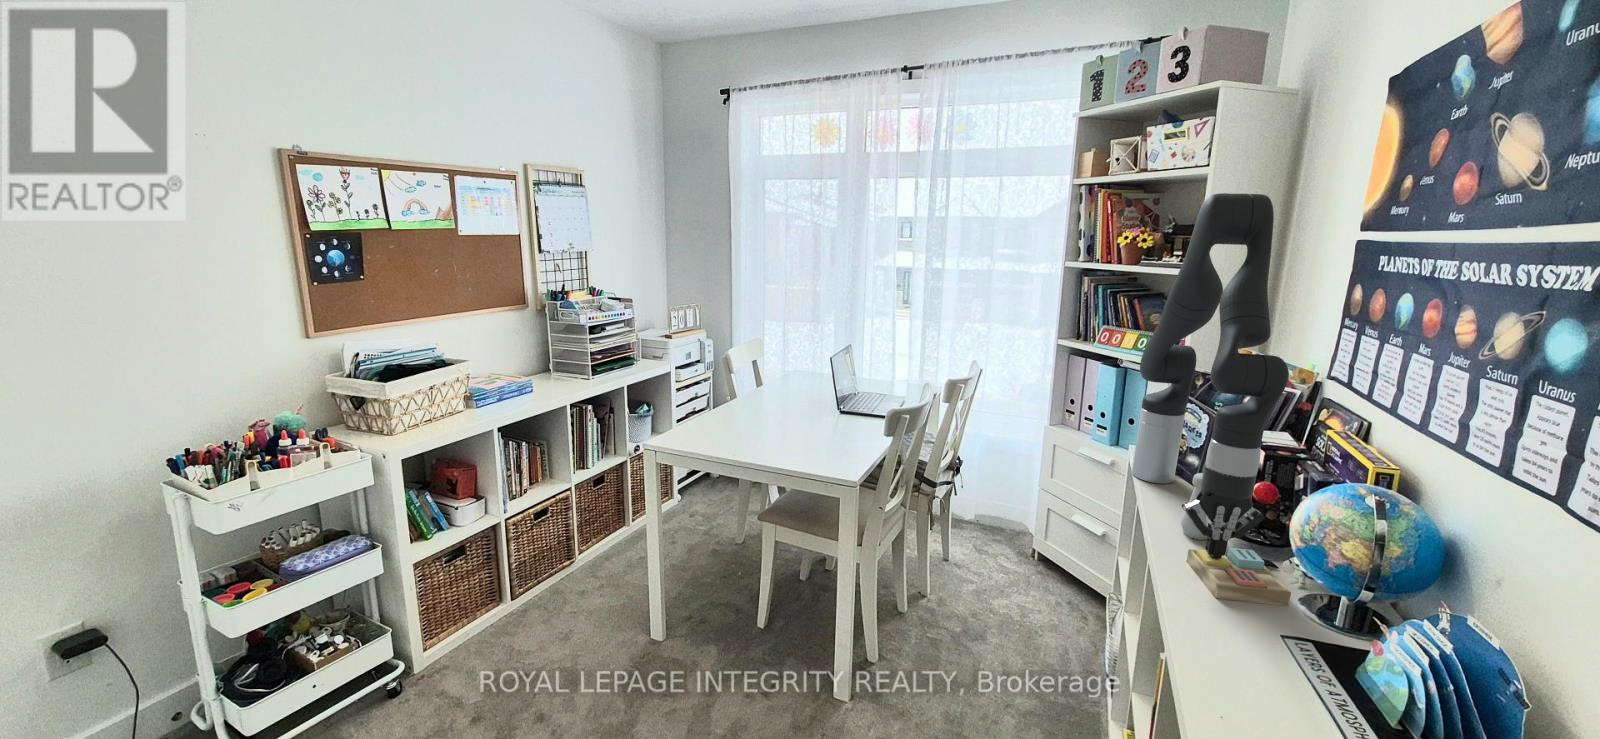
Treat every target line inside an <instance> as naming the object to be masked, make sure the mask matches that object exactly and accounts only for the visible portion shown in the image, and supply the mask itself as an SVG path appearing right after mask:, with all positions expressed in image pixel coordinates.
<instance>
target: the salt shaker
mask: <svg viewBox="0 0 1600 739" xmlns="http://www.w3.org/2000/svg"><path fill="white" fill-rule="evenodd" d="M1203 473H1204V472H1198V473H1196V474H1195V473H1194V475H1193V478H1192V485H1193V486H1194V488H1193V491H1192V493H1191V495H1190V498H1189V501H1188V502H1187V503H1188V504H1190V503H1192V502H1194V501H1196V500H1197V495H1198V494H1199V493H1200V491H1201V484H1202V478H1203ZM1198 516H1199V517H1200V519H1201V520H1202V522H1203V523H1204V525H1205V526H1207V521H1206V514H1205V513H1204V511H1203V510H1202V508H1201V507H1200V515H1198ZM1180 525H1181V528H1182V532H1183V534H1184V535H1186V536H1187V537H1188V538H1191V539H1193V538H1194V539H1193V540H1197V539H1198V541H1203V540H1204V539H1206V538H1207V536H1204V535H1203V534H1202V533H1201V532H1200V531H1199V530H1198V529H1197V528H1196V526H1195V525H1194V523H1193V522H1192V521H1191V519H1190V518H1189V516H1188V515H1187V513H1186V512H1185V511H1184V513H1183V515H1182V518H1181V521H1180ZM1204 541H1205V540H1204Z"/></svg>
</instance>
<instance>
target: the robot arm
mask: <svg viewBox="0 0 1600 739" xmlns="http://www.w3.org/2000/svg"><path fill="white" fill-rule="evenodd" d="M1274 217H1275V214H1274V205H1273V202H1272V200H1271V198H1270V197H1269V196H1268V195H1267V194H1260V193H1227V192H1225V193H1213V194H1210V195H1209V196H1207V198H1206V199H1205V200H1204V201H1203V203H1202V205H1201V207H1200V209H1199V212H1198V215H1197V217H1196V221H1195V224H1194V228H1193V231H1192V234H1191V238H1190V240H1189V245H1188V247H1187V249H1186V250H1187V251H1186V254H1185V256H1184V259H1183V261H1182V265H1181V267H1180V269H1179V271H1178V274H1177V276H1176V278H1175V280H1174V282H1173V284H1172V287H1171V290H1170V291H1169V294H1168V297H1167V298H1166V302H1165V305H1164V307H1163V308H1164V309H1163V311H1162V313H1161V316H1160V318H1159V321H1158V324H1157V326H1156V328H1155V330H1154V332H1153V333H1152V336H1150V339H1149V340H1148V342H1147V344H1146V345H1145V348H1144V350H1143V353H1142V355H1141V359H1140V362H1139V363H1140V364H1139V371H1140V372H1139V373H1140V375H1141V378H1143V379H1144V380H1146V381H1148V382H1151V383H1161V384H1170V385H1169V386H1168V387H1166V388H1165V389H1162V390H1160V391H1155V392H1153V393H1147V394H1145V395H1144V396H1143V398H1142V401H1141V409H1140V417H1139V422H1138V427H1137V429H1138V430H1137V435H1136V441H1135V442H1136V443H1135V448H1134V455H1133V462H1132V469H1131V474H1132V475H1133V476H1134V477H1136V478H1137V479H1139V480H1142V481H1145V482H1149V483H1155V484H1161V485H1163V484H1171V483H1173V482H1174V481H1175V476H1176V469H1177V465H1178V464H1177V463H1178V459H1179V453H1180V447H1181V442H1182V435H1183V429H1184V423H1185V417H1186V411H1187V406H1188V403H1189V399H1190V395H1191V394H1190V393H1191V390H1192V385H1193V381H1194V377H1195V372H1196V369H1197V353H1196V350H1195V348H1194V347H1192V346H1191V345H1190V346H1189V345H1183V344H1177V342H1180V341H1181V340H1182V339H1184V338H1187V337H1188V336H1190V335H1193V334H1194V333H1195V332H1197V331H1198V330H1200V329H1201V328H1203V327H1204V326H1205V325H1207V324H1208V323H1209V322H1210V321H1211V320H1212V318H1213V317H1214V315H1215V313H1216V311H1217V309H1218V311H1219V326H1220V329H1219V330H1220V335H1219V341H1218V347H1217V351H1216V355H1215V358H1214V360H1213V363H1212V366H1211V369H1210V376H1209V378H1210V382H1211V384H1212V386H1213V387H1214V389H1215V390H1216V391H1217V392H1218V393H1222V394H1224V395H1234V396H1248V397H1249V396H1250V398H1249V399H1247V401H1245V402H1243V403H1240V404H1234V405H1225V406H1222V407H1220V408H1218V409H1217V411H1216V414H1215V417H1214V422H1213V428H1212V433H1211V438H1210V442H1209V445H1208V448H1207V451H1206V452H1207V453H1206V458H1205V464H1204V469H1203V472H1202V473H1203V478H1202V484H1201V491H1200V493H1199V494H1198V495H1197V500H1196V501H1194V502H1192V503H1190V504H1188V503H1189V502H1183V503H1182V504H1181V508H1182V509H1183V510H1184V513H1185V512H1186V513H1187V515H1188V516H1189V518H1190V519H1191V521H1192V522H1193V523H1194V525H1195V526H1196V528H1197V529H1198V530H1199V531H1200V532H1201V533H1202V534H1203V535H1204V536H1207V538H1206V540H1205V545H1204V550H1206V552H1207V553H1208V554H1209V556H1210V557H1211V558H1218V559H1221V558H1222V556H1224V555H1225V554H1226V553H1227V549H1228V548H1227V547H1228V544H1229V543H1228V542H1229V541H1230V540H1231V539H1241V538H1242V537H1243V536H1245V535H1246V534H1247V533H1248V532H1250V531H1251V530H1253V529H1254V528H1255V527H1256V526H1257V525H1259V524H1260V523H1262V521H1263V520H1265V518H1266V517H1265V515H1264V514H1262V513H1261V512H1260V511H1259V510H1258V509H1257V508H1255V507H1253V506H1254V504H1253V501H1252V497H1253V495H1254V490H1255V485H1256V480H1257V476H1258V470H1259V468H1260V460H1261V446H1262V441H1263V435H1264V431H1265V427H1266V424H1267V421H1268V419H1269V418H1270V415H1271V413H1272V411H1273V410H1274V408H1275V406H1276V404H1277V402H1278V401H1279V399H1280V397H1281V396H1282V395H1283V393H1284V391H1285V389H1286V388H1287V385H1288V382H1289V377H1290V372H1289V367H1288V365H1287V363H1286V362H1285V360H1284V359H1282V358H1281V357H1280V356H1277V355H1270V354H1260V353H1259V354H1258V353H1240V352H1239V350H1241V349H1242V350H1243V349H1249V348H1254V347H1259V346H1261V345H1264V344H1265V343H1266V342H1268V341H1269V339H1270V337H1271V320H1270V308H1269V307H1270V306H1269V297H1268V295H1269V294H1268V291H1269V288H1268V287H1269V274H1270V266H1271V258H1272V257H1271V256H1272V245H1273V244H1272V243H1273V236H1274V235H1273V234H1274V221H1275V218H1274ZM1215 245H1236V246H1237V245H1238V246H1239V245H1241V246H1246V250H1247V251H1246V252H1247V253H1246V257H1245V260H1244V262H1243V263H1242V265H1241V267H1240V268H1239V269H1238V270H1237V272H1236V273H1235V274H1234V276H1232V278H1231V279H1230V280H1229V282H1228V283H1227V285H1226V286H1225V288H1224V287H1223V286H1224V285H1223V283H1222V281H1221V280H1222V279H1221V278H1220V275H1219V273H1218V271H1217V270H1216V268H1215V265H1214V264H1213V261H1212V257H1211V254H1210V252H1211V250H1212V247H1214V246H1215ZM1200 507H1201V508H1202V510H1203V511H1204V513H1205V514H1206V521H1207V526H1205V525H1204V523H1203V522H1202V520H1201V519H1200V517H1199V516H1198V515H1200Z"/></svg>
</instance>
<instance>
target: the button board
mask: <svg viewBox="0 0 1600 739" xmlns="http://www.w3.org/2000/svg"><path fill="white" fill-rule="evenodd" d="M1196 550H1197V549H1190V548H1189V549H1188V550H1187V551H1188V552H1187V557H1186V563H1187V564H1188V565H1189V566H1190V568H1191V569H1192V570H1193V572H1194V573H1195V572H1196V573H1195V575H1197V576H1199V577H1200V578H1199V577H1198V578H1199V579H1200V580H1201V581H1203V582H1204V583H1203V582H1202V583H1203V584H1204V586H1206V588H1207V589H1208V590H1209V591H1210V592H1209V593H1211V595H1212V596H1213V597H1214V598H1215V599H1218V600H1228V601H1236V602H1247V603H1256V604H1257V603H1258V604H1267V605H1274V606H1275V605H1276V606H1285V607H1288V606H1289V604H1290V600H1291V597H1292V596H1291V595H1292V592H1291V591H1290V590H1289V589H1288V587H1286V586H1285V584H1283V583H1282V581H1280V580H1279V578H1278V577H1276V576H1275V575H1274V573H1272V572H1271V571H1270V569H1268V568H1267V566H1265V565H1264V567H1263V570H1256V569H1245V568H1237V567H1236V566H1235V565H1234V564H1233V563H1232V562H1231V561H1230V560H1229V559H1228V557H1227V553H1228V552H1226V554H1225V555H1224V556H1225V557H1226V558H1227V559H1228V560H1229V561H1230V562H1231V566H1230V567H1225V566H1214V565H1205V564H1204V563H1203V562H1202V561H1201V560H1200V558H1199V557H1198V556H1197V555H1196ZM1228 568H1229V569H1240V570H1250V571H1254V572H1255V573H1256V574H1257V575H1258V576H1259V577H1260V579H1261V580H1262V581H1263V582H1264V583H1265V588H1259V587H1249V586H1239V585H1237V584H1236V583H1235V582H1234V581H1233V580H1232V579H1231V577H1230V576H1229V575H1228V574H1227V570H1228Z"/></svg>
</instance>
